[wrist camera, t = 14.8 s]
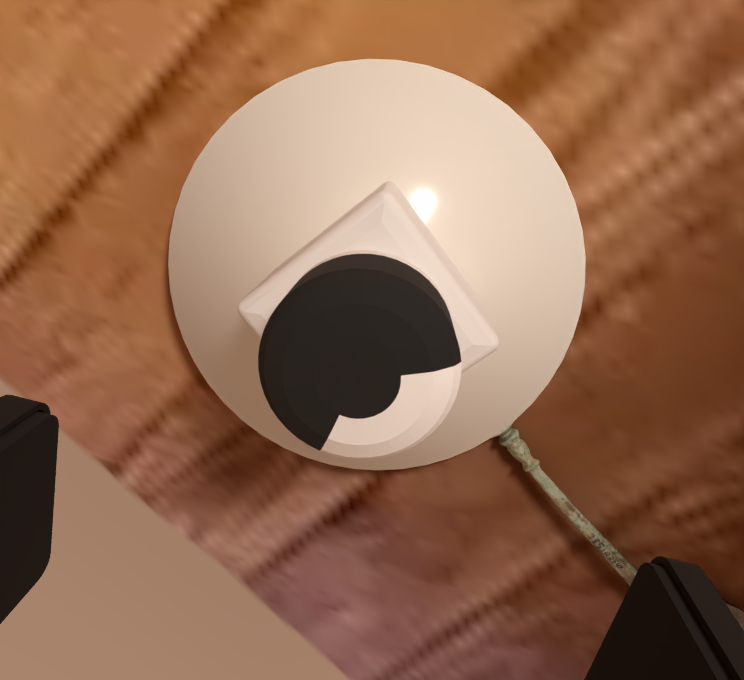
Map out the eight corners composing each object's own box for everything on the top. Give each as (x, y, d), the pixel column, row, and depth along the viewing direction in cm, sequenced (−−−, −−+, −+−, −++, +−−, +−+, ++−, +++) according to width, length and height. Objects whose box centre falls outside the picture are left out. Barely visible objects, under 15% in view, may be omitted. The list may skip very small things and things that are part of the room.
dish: (641, 124, 26) (652, 123, 25) (505, 495, 32) (509, 507, 31) (207, 12, 26) (198, 6, 24) (155, 411, 32) (146, 420, 31)
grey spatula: (665, 677, 37) (755, 622, 36) (693, 726, 34) (793, 668, 33) (449, 450, 32) (545, 377, 31) (458, 484, 29) (565, 403, 27)
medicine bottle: (272, 270, 28) (181, 354, 16) (390, 177, 26) (380, 197, 15) (363, 381, 29) (337, 528, 18) (480, 299, 28) (533, 403, 16)
